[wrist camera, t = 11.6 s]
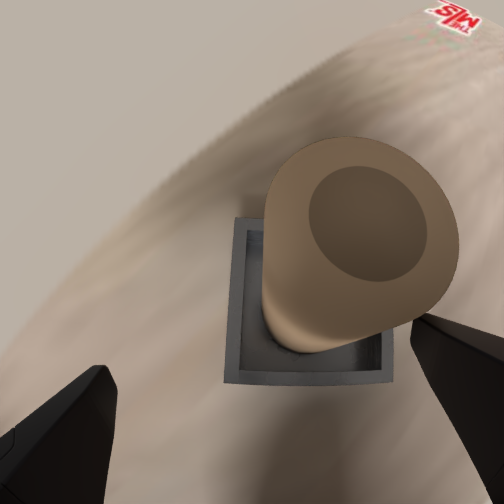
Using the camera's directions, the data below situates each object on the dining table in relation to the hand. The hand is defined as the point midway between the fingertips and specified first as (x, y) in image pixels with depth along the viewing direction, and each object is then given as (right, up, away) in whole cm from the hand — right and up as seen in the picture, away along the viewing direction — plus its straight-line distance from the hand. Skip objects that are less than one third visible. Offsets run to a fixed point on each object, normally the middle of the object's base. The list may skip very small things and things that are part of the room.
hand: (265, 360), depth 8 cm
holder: (+3, -1, +13) cm, 13 cm away
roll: (+3, -1, +12) cm, 13 cm away
